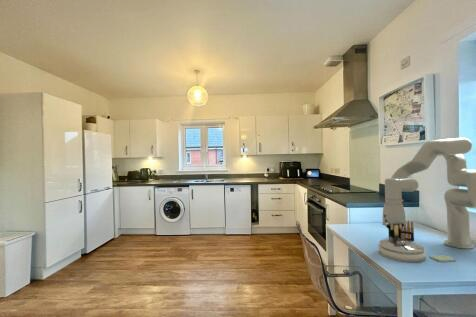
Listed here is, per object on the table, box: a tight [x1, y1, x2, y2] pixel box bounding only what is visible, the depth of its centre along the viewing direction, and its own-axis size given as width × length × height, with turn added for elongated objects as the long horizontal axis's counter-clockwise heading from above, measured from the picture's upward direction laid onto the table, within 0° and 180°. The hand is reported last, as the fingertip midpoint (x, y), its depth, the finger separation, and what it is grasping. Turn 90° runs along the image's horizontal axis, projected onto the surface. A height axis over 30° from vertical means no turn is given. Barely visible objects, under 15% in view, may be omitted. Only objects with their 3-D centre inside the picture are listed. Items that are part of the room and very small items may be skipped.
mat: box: [429, 254, 457, 263], centre depth 126 cm, size 8×6×1 cm
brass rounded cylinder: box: [393, 224, 399, 238], centre depth 138 cm, size 3×3×9 cm
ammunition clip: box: [401, 220, 415, 242], centre depth 158 cm, size 11×2×12 cm, turn 58°
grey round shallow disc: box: [379, 235, 425, 254], centre depth 132 cm, size 19×19×4 cm
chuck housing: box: [378, 243, 427, 264], centre depth 132 cm, size 20×20×3 cm
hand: (394, 236), depth 138 cm, fingers closed on brass rounded cylinder, 3 cm apart
